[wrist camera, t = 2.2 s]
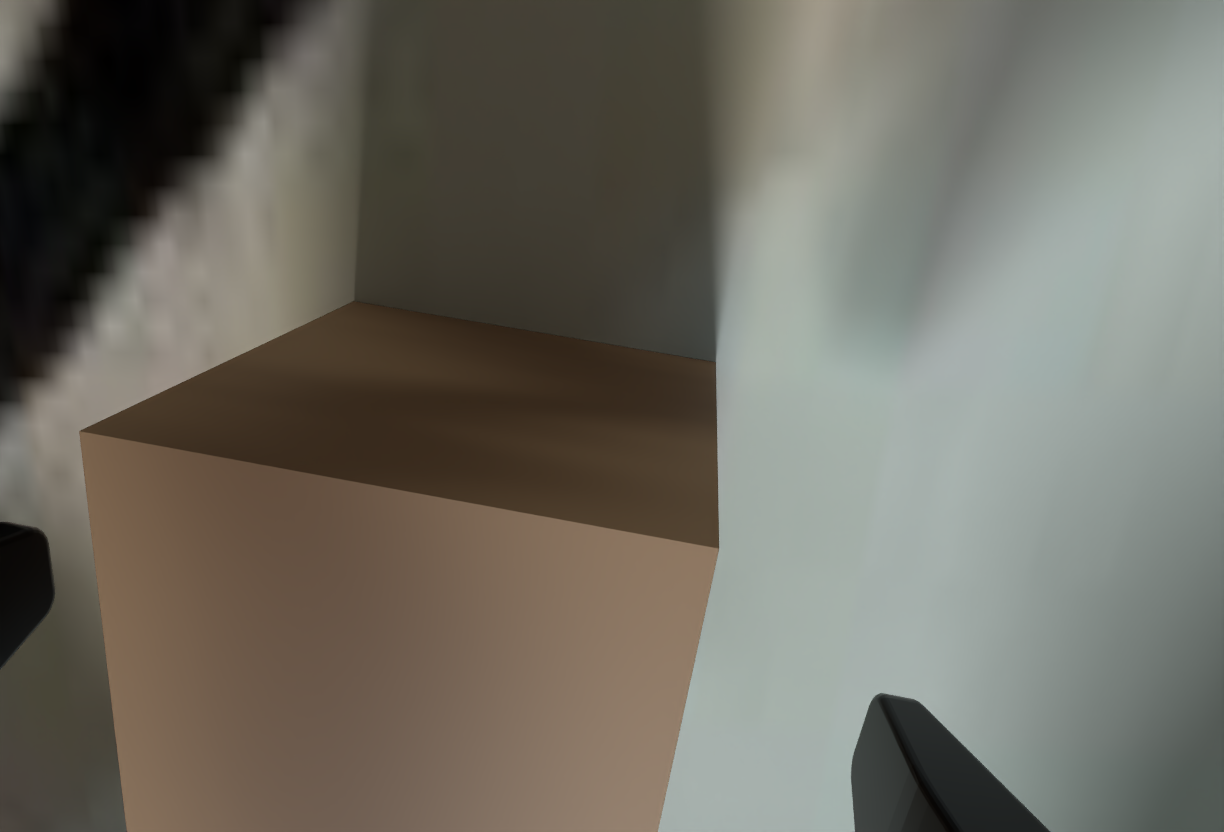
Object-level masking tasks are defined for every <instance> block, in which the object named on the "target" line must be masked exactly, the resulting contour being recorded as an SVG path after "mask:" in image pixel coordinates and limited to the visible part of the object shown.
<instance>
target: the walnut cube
mask: <svg viewBox="0 0 1224 832" xmlns="http://www.w3.org/2000/svg"><path fill="white" fill-rule="evenodd" d="M79 434H80V442H81V450H82V459H83V467H84V476H85V484H86V492H87V501H88V509H89V518H90V526H91V535H92V543H93V551H94V560H95V568H96V577H97V585H98V593H99V602H100V610H101V619H102V627H103V636H104V644H105V652H106V661H107V669H108V678H109V686H110V694H111V703H112V711H113V720H114V728H115V737H116V745H117V753H118V762H119V770H120V779H121V787H122V795H123V804H124V812H125V821H126V829H127V832H658V828H659V823H660V818H661V814H662V809H663V805H664V800H665V795H666V791H667V786H668V782H669V777H670V772H671V768H672V763H673V759H674V754H675V749H676V745H677V740H678V736H679V731H680V726H681V722H682V717H683V713H684V708H685V703H686V699H687V694H688V689H689V685H690V680H691V676H692V671H693V666H694V662H695V657H696V653H697V648H698V643H699V639H700V634H701V630H702V625H703V620H704V616H705V611H706V607H707V602H708V597H709V593H710V588H711V584H712V579H713V574H714V570H715V565H716V560H717V556H718V551H719V518H718V462H717V406H716V362H711V361H705V360H699V359H693V358H687V357H681V356H675V355H670V354H664V353H658V352H652V351H646V350H640V349H634V348H628V347H622V346H616V345H610V344H604V343H598V342H592V341H586V340H580V339H575V338H569V337H563V336H557V335H551V334H545V333H539V332H533V331H527V330H521V329H515V328H509V327H503V326H497V325H491V324H485V323H479V322H474V321H468V320H462V319H456V318H450V317H444V316H438V315H432V314H426V313H420V312H414V311H408V310H402V309H396V308H390V307H384V306H379V305H373V304H367V303H361V302H355V301H353V302H351V303H349V304H347V305H345V306H343V307H341V308H339V309H336V310H334V311H332V312H330V313H328V314H326V315H324V316H322V317H320V318H317V319H315V320H313V321H311V322H309V323H307V324H305V325H303V326H301V327H298V328H296V329H294V330H292V331H290V332H288V333H286V334H284V335H282V336H279V337H277V338H275V339H273V340H271V341H269V342H267V343H265V344H263V345H260V346H258V347H256V348H254V349H252V350H250V351H248V352H246V353H243V354H241V355H239V356H237V357H235V358H233V359H231V360H229V361H227V362H224V363H222V364H220V365H218V366H216V367H214V368H212V369H210V370H208V371H205V372H203V373H201V374H199V375H197V376H195V377H193V378H191V379H189V380H186V381H184V382H182V383H180V384H178V385H176V386H174V387H172V388H170V389H167V390H165V391H163V392H161V393H159V394H157V395H155V396H153V397H151V398H148V399H146V400H144V401H142V402H140V403H138V404H136V405H134V406H131V407H129V408H127V409H125V410H123V411H121V412H119V413H117V414H115V415H112V416H110V417H108V418H106V419H104V420H102V421H100V422H98V423H96V424H93V425H91V426H89V427H87V428H85V429H83V430H81V431H79Z"/></svg>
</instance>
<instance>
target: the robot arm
mask: <svg viewBox="0 0 1224 832" xmlns="http://www.w3.org/2000/svg"><path fill="white" fill-rule="evenodd" d="M54 598H55V586H54V578H53V571H52V564H51V557H50V549H49V543H48V539H47V537H46V535H45V534H44V532H43V531H41V530H40V529H38V528H36V527H31V526H26V525H21V524H16V523H10V522H0V669H1V668H2V667H3V666H4V665H5V664H6V662H7V661H8V660H9V659H10V658H11V657H12V656H13V654H14V653H15V652H16V651H17V650H18V649H19V647H20V646H21V645H22V644H23V643H24V642H25V640H26V639H27V638H28V637H29V636H30V635H31V633H32V632H33V631H34V630H35V629H36V628H37V626H38V625H39V624H40V623H41V622H42V621H43V619H44V618H45V617H46V616H47V614H48V613H49V611H50V609H51V607H52V605H53V602H54ZM851 783H852V797H853V810H854V824H855V832H1050V831H1049V830H1048V829H1047V828H1046V827H1045V826H1044V825H1043V824H1042V823H1041V822H1040V821H1039V820H1038V819H1037V818H1036V817H1035V816H1034V815H1033V814H1032V813H1031V812H1030V811H1029V810H1028V809H1027V808H1026V807H1025V806H1024V805H1023V804H1022V803H1021V802H1020V801H1019V800H1018V799H1017V798H1016V797H1015V796H1014V795H1013V794H1012V793H1011V792H1010V791H1009V790H1008V789H1007V788H1006V787H1005V786H1004V785H1003V784H1002V783H1001V782H1000V781H999V780H998V779H997V778H996V777H995V776H994V775H993V774H992V773H991V772H990V771H989V770H988V769H987V768H986V767H985V766H984V765H983V764H982V763H981V762H980V761H979V760H978V759H977V758H976V757H975V756H974V755H973V754H972V753H971V752H970V751H969V750H968V749H967V748H966V747H965V746H964V745H962V744H961V743H960V742H959V741H958V740H957V739H956V738H955V737H954V736H953V735H952V734H951V733H950V732H949V731H948V730H947V729H946V728H945V727H944V726H943V725H942V724H941V723H940V722H939V721H938V720H937V719H936V718H935V717H934V716H933V715H932V714H931V713H930V712H929V711H928V710H927V709H926V708H925V707H924V706H923V705H922V704H921V703H920V702H918V701H916V700H914V699H910V698H905V697H900V696H894V695H889V694H884V693H880V694H878V695H876V696H875V697H874V698H873V700H872V701H871V703H870V705H869V708H868V711H867V714H866V717H865V721H864V724H863V727H862V730H861V733H860V736H859V739H858V742H857V745H856V748H855V751H854V755H853V760H852V767H851Z"/></svg>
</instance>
